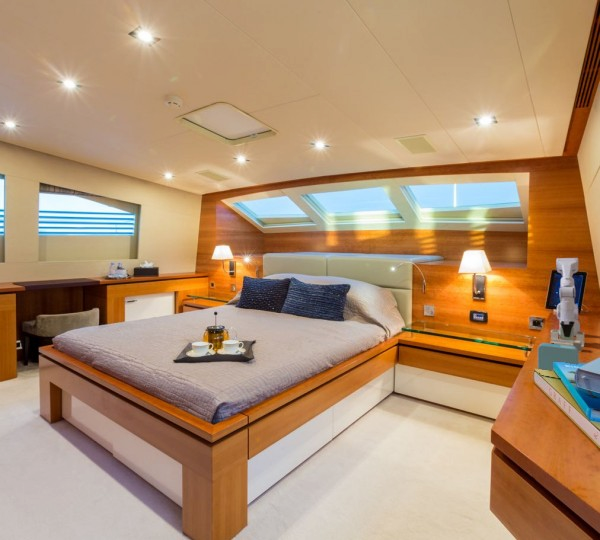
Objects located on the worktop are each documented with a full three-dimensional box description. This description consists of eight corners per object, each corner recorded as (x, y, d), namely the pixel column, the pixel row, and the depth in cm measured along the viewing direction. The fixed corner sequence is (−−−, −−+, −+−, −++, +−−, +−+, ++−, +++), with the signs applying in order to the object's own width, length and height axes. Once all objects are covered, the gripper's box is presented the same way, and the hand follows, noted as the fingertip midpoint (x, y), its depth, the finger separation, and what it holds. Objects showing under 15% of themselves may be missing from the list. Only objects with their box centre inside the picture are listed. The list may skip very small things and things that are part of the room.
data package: (578, 379, 131) (578, 346, 131) (577, 382, 128) (577, 349, 127) (539, 372, 139) (539, 342, 139) (537, 375, 136) (537, 344, 135)
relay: (573, 348, 173) (573, 340, 172) (581, 349, 171) (581, 340, 170) (573, 351, 169) (573, 342, 169) (581, 352, 167) (581, 343, 167)
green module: (560, 337, 187) (560, 325, 187) (574, 339, 183) (574, 326, 183) (560, 339, 183) (560, 326, 183) (573, 340, 180) (573, 327, 180)
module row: (552, 339, 191) (552, 328, 191) (584, 343, 183) (584, 331, 183) (550, 343, 184) (550, 331, 184) (583, 347, 175) (583, 334, 175)
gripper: (558, 307, 191) (558, 332, 191) (556, 311, 180) (556, 337, 180) (575, 308, 186) (575, 334, 187) (574, 312, 175) (574, 339, 176)
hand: (567, 336), depth 183 cm, fingers closed on green module, 4 cm apart
